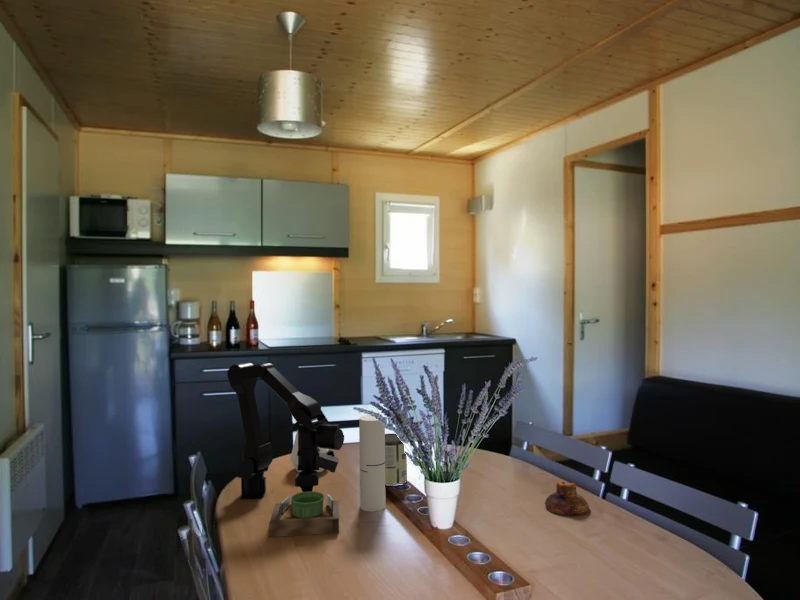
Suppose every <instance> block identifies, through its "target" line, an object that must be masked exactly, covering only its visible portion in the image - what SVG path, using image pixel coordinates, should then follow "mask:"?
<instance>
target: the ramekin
mask: <svg viewBox="0 0 800 600" xmlns="http://www.w3.org/2000/svg"><path fill="white" fill-rule="evenodd" d="M324 499H325V495H324V494H323V493H322V492H318V491H313V490H312V491H307V492H297V493H295V494H293V495H292V496H290V503H291V507H292V515H293V516H294V517H296V518H297V519H301V518H317V517H318V516H320V515H321V514H322V513H323V511H324V510H323V509H324Z"/></svg>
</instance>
